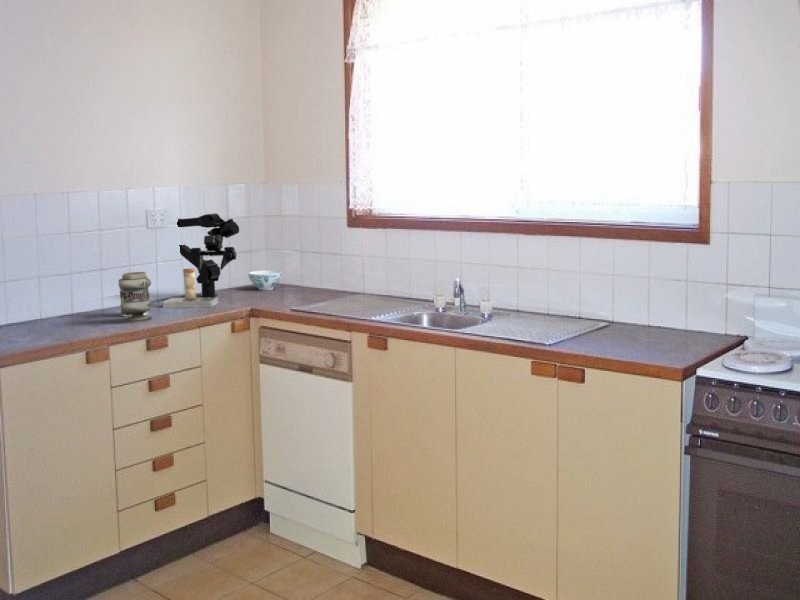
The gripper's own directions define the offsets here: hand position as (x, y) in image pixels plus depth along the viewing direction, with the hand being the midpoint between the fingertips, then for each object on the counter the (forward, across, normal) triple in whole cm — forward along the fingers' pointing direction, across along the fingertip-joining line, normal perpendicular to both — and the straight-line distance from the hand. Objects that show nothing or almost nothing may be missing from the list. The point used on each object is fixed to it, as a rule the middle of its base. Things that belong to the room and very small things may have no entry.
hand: (210, 269), depth 398 cm
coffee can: (+31, -22, -12) cm, 40 cm away
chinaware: (-14, +15, +34) cm, 40 cm away
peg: (+17, -6, +2) cm, 18 cm away
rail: (+17, -6, +2) cm, 18 cm away
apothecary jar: (+41, -16, -21) cm, 49 cm away
